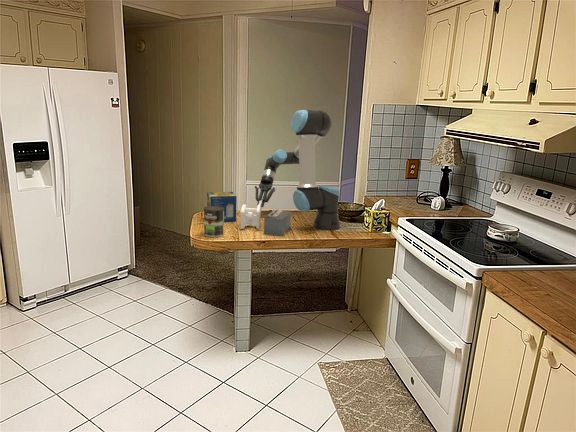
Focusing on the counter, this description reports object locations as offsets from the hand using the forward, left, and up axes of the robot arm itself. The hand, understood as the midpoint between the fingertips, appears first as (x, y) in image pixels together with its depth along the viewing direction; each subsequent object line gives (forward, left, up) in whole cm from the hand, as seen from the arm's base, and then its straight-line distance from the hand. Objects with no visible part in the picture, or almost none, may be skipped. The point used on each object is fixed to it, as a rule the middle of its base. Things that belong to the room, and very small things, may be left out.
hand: (258, 211), depth 261 cm
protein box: (+19, +11, -5) cm, 22 cm away
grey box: (-17, +19, -5) cm, 26 cm away
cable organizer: (-1, +18, -5) cm, 18 cm away
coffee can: (+12, +38, -5) cm, 40 cm away
